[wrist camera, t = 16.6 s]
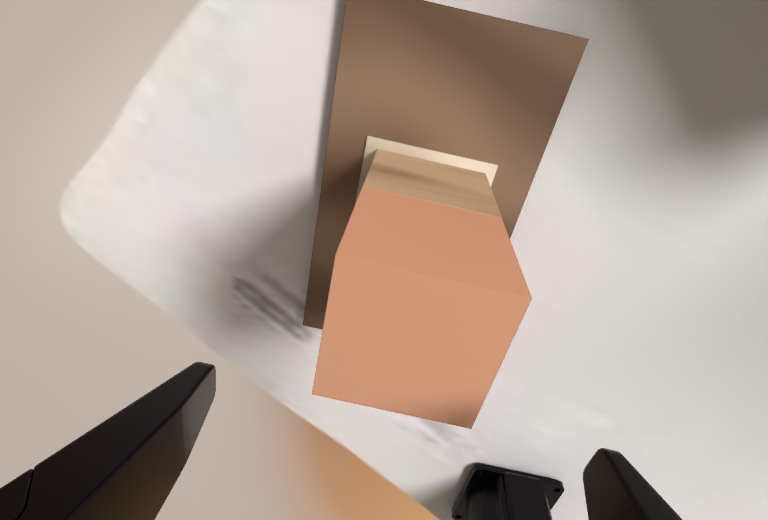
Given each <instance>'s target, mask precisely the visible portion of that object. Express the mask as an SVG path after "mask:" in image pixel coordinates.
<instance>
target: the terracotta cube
mask: <svg viewBox="0 0 768 520" xmlns="http://www.w3.org/2000/svg"><path fill="white" fill-rule="evenodd" d="M531 300H532V298H531V295H530V292H529V290H528V287H527V284H526V282H525V279H524V276H523V274H522V271H521V268H520V266H519V263H518V260H517V258H516V255H515V252H514V250H513V247H512V244H511V242H510V239H509V236H508V234H507V231H506V228H505V226H504V223H503V220H502V218H499V217H495V216H490V215H486V214H482V213H477V212H473V211H469V210H464V209H460V208H455V207H451V206H447V205H442V204H438V203H434V202H429V201H425V200H420V199H416V198H412V197H407V196H403V195H399V194H394V193H390V192H385V191H381V190H377V189H372V188H368V187H364V186H363V187H362V189H361V192H360V194H359V197H358V199H357V202H356V204H355V207H354V210H353V212H352V215H351V217H350V220H349V222H348V225H347V227H346V230H345V232H344V235H343V237H342V240H341V242H340V245H339V247H338V250H337V252H336V255H335V261H334V267H333V273H332V278H331V284H330V290H329V296H328V302H327V308H326V314H325V320H324V326H323V332H322V337H321V343H320V349H319V355H318V361H317V367H316V373H315V379H314V385H313V390H312V394H313V395H318V396H322V397H327V398H332V399H336V400H341V401H345V402H350V403H355V404H359V405H364V406H368V407H373V408H378V409H382V410H387V411H391V412H396V413H401V414H405V415H410V416H414V417H419V418H424V419H428V420H433V421H437V422H442V423H447V424H451V425H456V426H461V427H465V428H470V429H471V428H472V426H473V424H474V422H475V419H476V417H477V415H478V413H479V411H480V409H481V407H482V404H483V402H484V400H485V398H486V396H487V394H488V392H489V389H490V387H491V385H492V383H493V381H494V379H495V377H496V374H497V372H498V370H499V368H500V366H501V364H502V362H503V359H504V357H505V355H506V353H507V351H508V349H509V347H510V344H511V342H512V340H513V338H514V336H515V334H516V332H517V329H518V327H519V325H520V323H521V321H522V319H523V317H524V315H525V312H526V310H527V308H528V306H529V304H530V302H531Z"/></svg>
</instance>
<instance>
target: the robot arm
mask: <svg viewBox="0 0 768 520" xmlns="http://www.w3.org/2000/svg"><path fill="white" fill-rule="evenodd" d="M215 391H216V369H215V367H214V365H212V364H207V363H202V362H196V363H194V364H192V365H190V366H189V367H187V368H186V369H184V370H183V371H181V372H180V373H178V374H177V375H175V376H173V377H172V378H170V379H169V380H167V381H166V382H164V383H163V384H161V385H160V386H158V387H156V388H155V389H153V390H152V391H150V392H149V393H147V394H146V395H144V396H143V397H141V398H139V399H138V400H136V401H135V402H133V403H132V404H130V405H129V406H127V407H126V408H124V409H122V410H121V411H119V412H118V413H116V414H115V415H113V416H112V417H110V418H109V419H107V420H106V421H104V422H102V423H101V424H99V425H98V426H96V427H95V428H93V429H92V430H90V431H89V432H87V433H86V434H84V435H83V436H81V437H79V438H78V439H76V440H75V441H73V442H72V443H70V444H68V445H67V446H65V447H64V448H62V449H61V450H60V451H58V452H56V453H55V454H53V455H52V456H50V457H48V458H47V459H45V460H44V461H42V462H41V463H39V464H38V465H36V466H35V468H34V470H33V469H30V470H28V471H27V472H25V473H23V474H22V475H20V476H19V477H17V478H16V479H14V480H13V481H11V482H10V483H8V484H6V485H5V486H3V487H2V488H0V520H155V518H156V516H157V514H158V512H159V511H160V509H161V507H162V505H163V504H164V502H165V500H166V498H167V497H168V495H169V493H170V491H171V489H172V487H173V486H174V484H175V482H176V481H177V479H178V477H179V475H180V473H181V471H182V470H183V467H184V466H185V464H186V462H187V459H188V457H189V455H190V453H191V450H192V448H193V446H194V443H195V441H196V439H197V437H198V434H199V432H200V430H201V427H202V425H203V423H204V420H205V418H206V416H207V413H208V411H209V409H210V406H211V404H212V402H213V399H214V396H215ZM583 483H584V490H585V497H586V504H587V511H588V518H589V520H682V519H681V518H680V517H679V515H678V514H677V513H676V512H675V511H674V510H673V509H672V508H671V507H670V506H669V505H668V504H667V503H666V501H665V500H664V499H663V498H662V497H661V496H660V495H659V494H658V493H657V492H656V491H655V490H654V488H653V487H652V486H651V485H650V484H649V483H648V482H647V481H646V480H645V479H644V478H643V477H642V476H641V474H640V473H639V472H638V471H637V470H636V469H635V468H634V467H633V466H632V465H631V464H630V463H629V462H628V460H627V459H626V458H625V457H624V456H623V455H622V454H621V453H619V452H617V451H614V450H610V449H605V448H601V449H599V450H597V452H596V453H595V454H594V456H593V457H592V459H591V460H590V461H589V463H588V464H587V466H586V467H585V469H584V472H583ZM563 492H564V487H563V484H562V482H561V481H558V480H553V479H548V478H544V477H539V476H534V475H530V474H525V473H520V472H516V471H511V470H506V469H501V468H497V467H492V466H487V465H483V464H478V465H475V466H474V467H473V469H472V471H471V473H470V475H469V477H468V479H467V481H466V483H465V485H464V487H463V489H462V491H461V493H460V495H459V497H458V499H457V501H456V503H455V505H454V507H453V509H452V518H453V519H454V520H552V516H551V512H550V510H551V509H552V507H553V506H554V505H555V503H556V502H557V500H558V499H559V497H560V496H561V495H562V493H563Z"/></svg>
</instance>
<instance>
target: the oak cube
mask: <svg viewBox="0 0 768 520" xmlns="http://www.w3.org/2000/svg"><path fill="white" fill-rule="evenodd" d="M363 186H364V187H368V188H372V189H377V190H381V191H385V192H390V193H394V194H399V195H403V196H407V197H412V198H416V199H420V200H425V201H429V202H434V203H438V204H442V205H447V206H451V207H455V208H460V209H464V210H469V211H473V212H477V213H482V214H486V215H490V216H495V217H499V218H502V216H501V213H500V210H499V208H498V205H497V203H496V200H495V197H494V195H493V192H492V189H491V187H490V184H489V181H488V179H487V176H486V174H485V173H482V172H478V171H473V170H469V169H464V168H460V167H456V166H451V165H447V164H443V163H438V162H434V161H429V160H425V159H421V158H416V157H412V156H408V155H403V154H399V153H395V152H390V151H386V150H381V149H377V152H376V154H375V157H374V159H373V162H372V165H371V167H370V170H369V172H368V175H367V177H366V180H365V182H364V185H363Z"/></svg>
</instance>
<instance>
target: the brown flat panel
mask: <svg viewBox="0 0 768 520" xmlns="http://www.w3.org/2000/svg"><path fill="white" fill-rule="evenodd" d="M588 40H589V39H586V38H582V37H577V36H573V35H569V34H565V33H560V32H556V31H552V30H548V29H543V28H539V27H535V26H530V25H526V24H522V23H518V22H513V21H509V20H505V19H501V18H496V17H492V16H488V15H483V14H479V13H475V12H471V11H466V10H462V9H458V8H454V7H449V6H445V5H441V4H436V3H432V2H428V1H424V0H346V6H345V14H344V21H343V29H342V36H341V44H340V51H339V59H338V66H337V74H336V81H335V89H334V96H333V104H332V111H331V119H330V126H329V134H328V141H327V149H326V156H325V164H324V171H323V179H322V186H321V194H320V201H319V209H318V216H317V224H316V232H315V239H314V247H313V254H312V262H311V269H310V277H309V284H308V292H307V299H306V307H305V314H304V322H303V325H305V326H309V327H314V328H319V329H323V326H324V320H325V314H326V308H327V302H328V296H329V290H330V284H331V278H332V273H333V267H334V261H335V255H336V252H337V250H338V247H339V245H340V242H341V240H342V237H343V235H344V232H345V230H346V227H347V225H348V222H349V220H350V217H351V215H352V212H353V210H354V207H355V204H356V202H357V199H358V197H359V194H360V192H361V189H362V187H363V185H364V182H365V180H366V177H367V175H368V172H369V170H370V167H371V165H372V162H373V159H374V157H375V154H376V152H377V149H381V150H386V151H390V152H395V153H399V154H403V155H408V156H412V157H416V158H421V159H425V160H429V161H434V162H438V163H443V164H447V165H451V166H456V167H460V168H464V169H469V170H473V171H478V172H482V173H485V174H486V176H487V179H488V181H489V184H490V187H491V189H492V192H493V195H494V197H495V200H496V203H497V205H498V208H499V210H500V213H501V216H502V220H503V223H504V226H505V228H506V231H507V234H508V236H509V239H510V237H511V234H512V232H513V229H514V227H515V224H516V222H517V219H518V217H519V214H520V212H521V209H522V207H523V204H524V202H525V199H526V196H527V194H528V191H529V189H530V186H531V184H532V181H533V179H534V176H535V174H536V171H537V169H538V166H539V164H540V161H541V159H542V156H543V153H544V151H545V148H546V146H547V143H548V141H549V138H550V136H551V133H552V131H553V128H554V126H555V123H556V121H557V118H558V115H559V113H560V110H561V108H562V105H563V103H564V100H565V98H566V95H567V93H568V90H569V88H570V85H571V83H572V80H573V78H574V75H575V72H576V70H577V67H578V65H579V62H580V60H581V57H582V55H583V52H584V50H585V47H586V45H587V42H588Z"/></svg>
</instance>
